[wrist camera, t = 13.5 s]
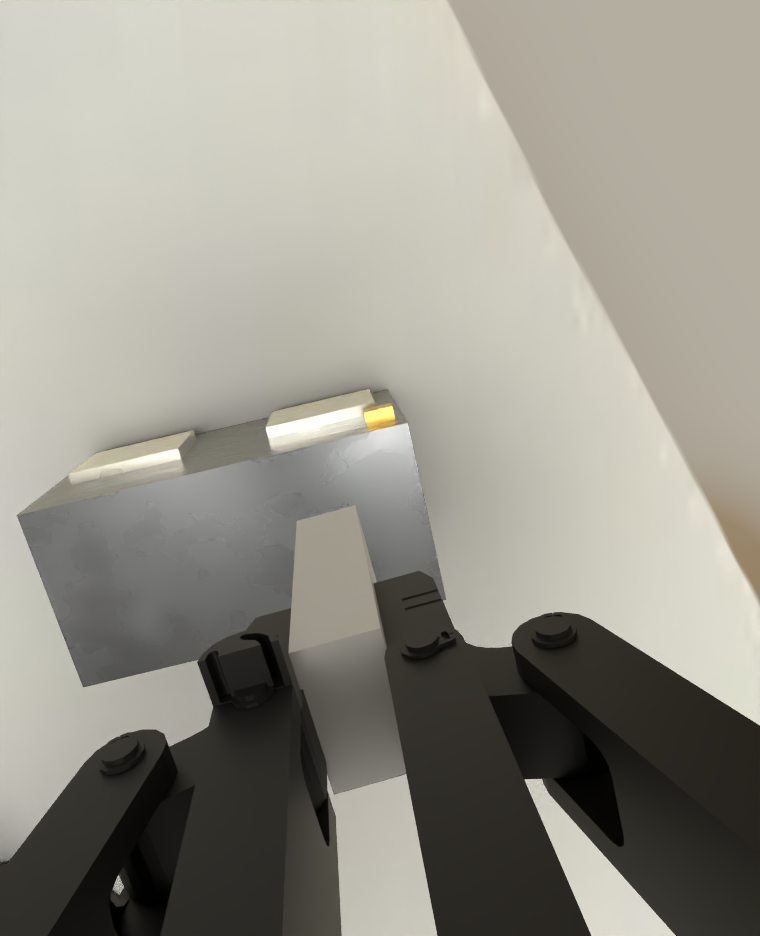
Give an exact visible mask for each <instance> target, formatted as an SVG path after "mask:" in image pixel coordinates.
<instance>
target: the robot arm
mask: <svg viewBox="0 0 760 936" xmlns="http://www.w3.org/2000/svg"><path fill="white" fill-rule="evenodd" d="M197 663H198V666H199V668H200V671H201V674H202V677H203V679H204V682H205V685H206V688H207V690H208V693H209V696H210V699H211V701H212V704H213V710H212V715H211V719H210V723H209V726H208V727H207V728H205V729H204V730H202V731H200V732H199V733H197V734H195V735H193V736H191V737H189V738H187V739H185V740H183V741H181V742H179V743H177V744H174V745H172V746H170V747H169V746H168V743H167V741H166V738H165V735H164V734H163V733H161V732H159V731H157V730H139V731H135V732H131V733H130V732H129V733H126V734H123V735H120V737H116V738H114V739H112V740H111V741H109V742H108V743H107V744H106V745H105V746H103V747H102V748H100V749H99V750H97V751H96V752H95V753H94V754H93V755H92V756H91V757H90V758H89V759H88V760H87V761H86V762H85V763H84V764H83V766H82V767H81V768H80V770H79V771H78V772H77V774H76V775H75V776H74V777H73V779H72V780H71V781H70V783H69V784H68V785H67V787H66V788H65V789H64V790H63V792H62V793H61V794H60V796H59V797H58V798H57V800H56V801H55V802H54V804H53V805H52V806H51V807H50V809H49V810H48V811H47V813H46V814H45V815H44V817H43V818H42V819H41V821H40V822H39V823H38V824H37V826H36V827H35V828H34V830H33V831H32V832H31V834H30V835H29V836H28V837H27V839H26V840H25V841H24V843H23V844H22V845H21V847H20V848H19V849H18V851H17V852H16V853H15V854H14V856H13V857H12V858H11V860H10V861H9V862H8V863H7V864H0V936H341V916H340V896H339V876H338V856H337V836H336V816H335V813H334V810H333V807H332V804H331V801H330V797H329V794H328V791H327V774H328V778H329V781H330V784H331V787H332V790H333V793H334V794H338V793H341V792H345V791H348V790H352V789H355V788H359V787H362V786H366V785H369V784H373V783H376V782H380V781H383V780H387V779H390V778H394V777H398V776H401V775H405V774H407V779H408V784H409V789H410V795H411V800H412V805H413V810H414V815H415V821H416V826H417V831H418V836H419V841H420V847H421V852H422V857H423V862H424V867H425V873H426V878H427V883H428V888H429V893H430V899H431V904H432V909H433V914H434V919H435V925H436V930H437V935H438V936H591V934H590V932H589V929H588V927H587V925H586V922H585V920H584V918H583V915H582V913H581V911H580V908H579V906H578V904H577V901H576V899H575V897H574V894H573V892H572V890H571V887H570V885H569V883H568V880H567V878H566V876H565V873H564V871H563V869H562V866H561V864H560V862H559V860H558V857H557V855H556V853H555V850H554V848H553V846H552V843H551V841H550V839H549V836H548V834H547V832H546V829H545V827H544V825H543V822H542V820H541V818H540V815H539V813H538V811H537V808H536V806H535V804H534V801H533V799H532V797H531V794H530V792H529V790H528V787H527V785H526V783H525V780H524V779H542V780H543V783H544V785H545V787H546V789H547V791H548V793H549V794H550V795H551V796H552V797H553V799H554V800H555V801H556V802H557V803H558V804H559V805H560V806H561V808H562V809H563V810H564V811H565V812H566V813H567V814H568V815H569V816H570V818H571V819H572V820H573V821H574V822H575V823H576V824H577V825H578V827H579V828H580V829H581V830H582V831H583V832H584V833H585V834H586V835H587V837H588V838H589V839H590V840H591V841H592V842H593V843H594V844H595V846H596V847H597V848H598V849H599V850H600V851H601V852H602V853H603V855H604V856H605V857H606V858H607V859H608V860H609V861H610V862H611V863H612V865H613V866H614V867H615V868H616V869H617V870H618V871H619V872H620V874H621V875H622V876H623V877H624V878H625V879H626V880H627V881H628V882H629V884H630V885H631V886H632V887H633V888H634V889H635V890H636V891H637V893H638V894H639V895H640V896H641V897H642V898H643V899H644V900H645V902H646V903H647V904H648V905H649V906H650V907H651V908H652V909H653V910H654V912H655V913H656V914H657V915H658V916H659V917H660V918H661V919H662V921H663V922H664V923H665V924H666V925H667V926H668V927H669V928H670V929H671V931H672V932H673V933H674V934H675V935H676V936H760V726H759V725H758V724H756V723H755V722H753V721H752V720H750V719H748V718H747V717H745V716H744V715H742V714H740V713H739V712H737V711H736V710H734V709H732V708H731V707H729V706H728V705H726V704H725V703H723V702H721V701H720V700H718V699H717V698H715V697H713V696H712V695H710V694H709V693H707V692H705V691H704V690H702V689H701V688H699V687H698V686H696V685H694V684H693V683H691V682H690V681H688V680H686V679H685V678H683V677H682V676H680V675H678V674H677V673H675V672H674V671H672V670H671V669H669V668H667V667H666V666H664V665H663V664H661V663H659V662H658V661H656V660H655V659H653V658H651V657H650V656H648V655H647V654H645V653H644V652H642V651H640V650H639V649H637V648H636V647H634V646H632V645H631V644H629V643H628V642H626V641H624V640H623V639H621V638H620V637H618V636H617V635H615V634H613V633H612V632H610V631H609V630H607V629H605V628H604V627H602V626H601V625H599V624H597V623H596V622H594V621H593V620H591V619H589V618H587V617H584V616H581V615H579V614H572V613H563V612H555V613H553V614H552V613H548V614H543V615H542V616H539V617H536V618H532V619H530V620H529V621H527V622H525V623H523V624H522V625H520V626H519V627H518V628H517V630H516V631H515V632H514V633H513V636H512V647H502V648H484V647H476V646H473V645H470V644H467V643H466V642H465V641H464V638H463V636H462V635H461V634H460V633H459V632H458V631H457V630H455V629H454V627H453V624H452V622H451V619H450V617H449V615H448V612H447V610H446V608H445V605H444V603H443V600H442V598H441V596H440V593H439V591H438V589H437V586H436V584H435V582H434V579H433V578H432V577H430V576H429V575H427V574H425V573H423V572H421V571H416V572H413V573H409V574H405V575H402V576H398V577H394V578H391V579H387V580H384V581H380V582H376V578H375V574H374V571H373V567H372V563H371V560H370V556H369V553H368V549H367V545H366V542H365V538H364V534H363V531H362V527H361V524H360V520H359V516H358V513H357V509H356V506H355V505H354V506H350V507H346V508H343V509H339V510H335V511H332V512H328V513H324V514H321V515H317V516H313V517H310V518H306V519H302V520H299V521H297V525H296V541H295V557H294V573H293V589H292V604H291V608H289V609H285V610H282V611H278V612H274V613H271V614H267V615H263V616H260V617H256V618H255V620H254V621H253V622H252V623H251V624H250V626H249V627H248V628H247V629H246V630H245V631H242V632H239V633H237V634H234V635H231V636H228V637H226V638H224V639H222V640H221V641H219V642H217V643H215V644H214V645H212V646H211V647H210V648H209V649H207V650H206V651H205V652H204V653H203V654H202V656H201V657H200V659H199V660H198V662H197ZM118 875H119V876H120V878H121V881H122V883H123V885H124V888H123V890H122V892H121V894H120V896H119V897H117V896H116V895H114V894H113V893H112V889H113V886H114V884H115V881H116V878H117V876H118Z"/></svg>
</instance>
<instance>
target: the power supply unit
mask: <svg viewBox="0 0 760 936" xmlns="http://www.w3.org/2000/svg"><path fill="white" fill-rule="evenodd" d="M354 505H355V506H356V509H357V513H358V516H359V520H360V524H361V527H362V531H363V534H364V538H365V542H366V545H367V549H368V553H369V556H370V560H371V563H372V567H373V571H374V574H375V578H376V582H380V581H384V580H387V579H391V578H394V577H398V576H402V575H405V574H409V573H413V572H416V571H421V572H423V573H425V574H427V575H429V576H430V577H432V578H433V579H434V582H435V584H436V586H437V589H438V591H439V593H440V596H441V598H442V600H446V597H445V592H444V588H443V583H442V579H441V574H440V569H439V565H438V560H437V556H436V551H435V546H434V542H433V537H432V532H431V528H430V523H429V519H428V514H427V509H426V505H425V500H424V496H423V491H422V486H421V482H420V477H419V472H418V468H417V463H416V459H415V454H414V449H413V445H412V440H411V436H410V431H409V426H408V422H407V421H406V419H405V418H404V416H403V414H402V413H401V411H400V409H399V408H398V406H397V404H396V403H395V401H394V399H393V398H392V396H391V394H390V393H389V391H388V390H384V391H380V392H375V393H370V391H369V389H366V390H362V391H358V392H354V393H349V394H345V395H341V396H337V397H332V398H328V399H324V400H320V401H315V402H311V403H307V404H303V405H298V406H294V407H290V408H286V409H281V410H277V411H273V412H271V415H270V417H269V418H265V419H261V420H256V421H252V422H248V423H244V424H239V425H235V426H231V427H227V428H222V429H218V430H214V431H210V432H205V433H201V434H197V435H195V433H194V430H192V431H188V432H184V433H179V434H175V435H171V436H167V437H162V438H158V439H154V440H150V441H145V442H141V443H137V444H133V445H128V446H124V447H120V448H116V449H111V450H107V451H103V452H99V453H95V454H94V455H93V456H91V457H90V458H89V459H87V460H86V461H85V462H83V463H82V464H81V465H80V466H78V467H77V468H76V469H74V470H73V471H72V472H70V473H69V474H68V476H67V477H66V478H65V479H63V480H62V481H61V482H59V483H58V484H57V485H56V486H54V487H53V488H52V489H50V490H49V491H48V492H46V493H45V494H44V495H43V496H41V497H40V498H39V499H37V500H36V501H35V502H33V503H32V504H31V505H30V506H28V507H27V508H26V509H24V510H23V511H22V512H20V513H19V514H18V515H17V517H18V519H19V522H20V525H21V527H22V530H23V532H24V535H25V538H26V540H27V543H28V545H29V548H30V551H31V553H32V556H33V558H34V561H35V564H36V566H37V569H38V571H39V574H40V577H41V579H42V582H43V584H44V587H45V589H46V592H47V595H48V597H49V600H50V602H51V605H52V608H53V610H54V613H55V615H56V618H57V621H58V623H59V626H60V628H61V631H62V634H63V636H64V639H65V641H66V644H67V647H68V649H69V652H70V654H71V657H72V659H73V662H74V665H75V667H76V670H77V672H78V675H79V678H80V680H81V683H82V685H83V687H87V686H91V685H95V684H99V683H103V682H107V681H111V680H116V679H120V678H124V677H128V676H132V675H136V674H140V673H145V672H149V671H153V670H157V669H161V668H165V667H169V666H174V665H178V664H182V663H186V662H190V661H194V660H198V659H200V657H201V656H202V654H203V653H204V652H205V651H206V650H207V649H209V648H210V647H211V646H212V645H214V644H215V643H217V642H219V641H221V640H222V639H224V638H226V637H228V636H231V635H234V634H237V633H239V632H242V631H245V630H246V629H247V628H248V627H249V626H250V624H251V623H252V622H253V621H254V620H255V618H256V617H260V616H263V615H267V614H271V613H274V612H278V611H282V610H285V609H289V608H291V604H292V589H293V573H294V557H295V541H296V525H297V521H299V520H302V519H306V518H310V517H313V516H317V515H321V514H324V513H328V512H332V511H335V510H339V509H343V508H346V507H350V506H354Z"/></svg>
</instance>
